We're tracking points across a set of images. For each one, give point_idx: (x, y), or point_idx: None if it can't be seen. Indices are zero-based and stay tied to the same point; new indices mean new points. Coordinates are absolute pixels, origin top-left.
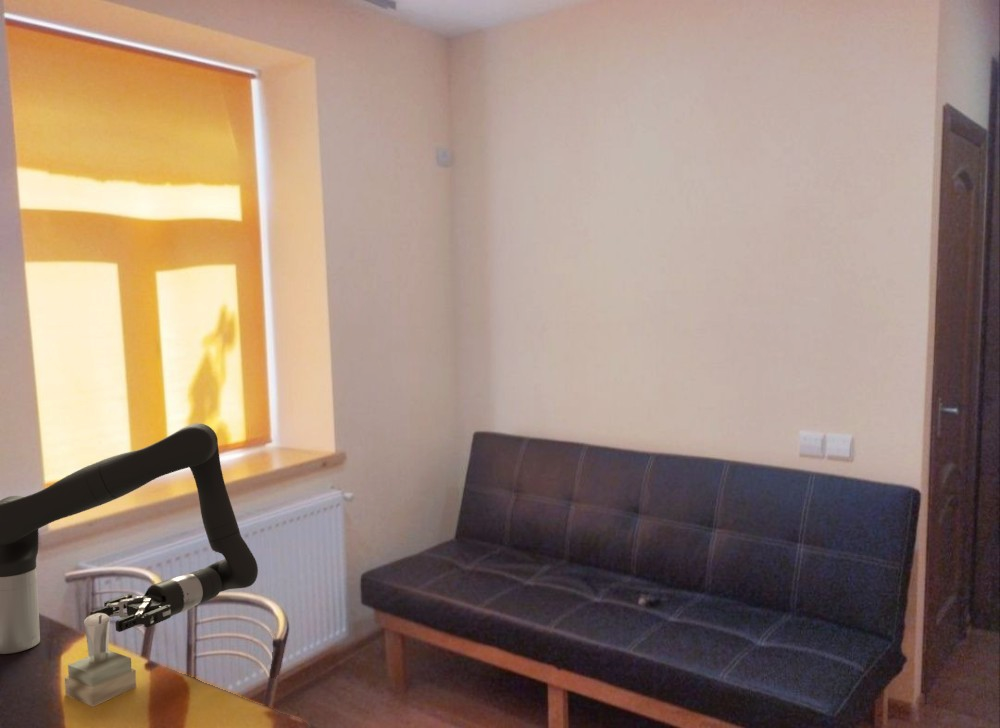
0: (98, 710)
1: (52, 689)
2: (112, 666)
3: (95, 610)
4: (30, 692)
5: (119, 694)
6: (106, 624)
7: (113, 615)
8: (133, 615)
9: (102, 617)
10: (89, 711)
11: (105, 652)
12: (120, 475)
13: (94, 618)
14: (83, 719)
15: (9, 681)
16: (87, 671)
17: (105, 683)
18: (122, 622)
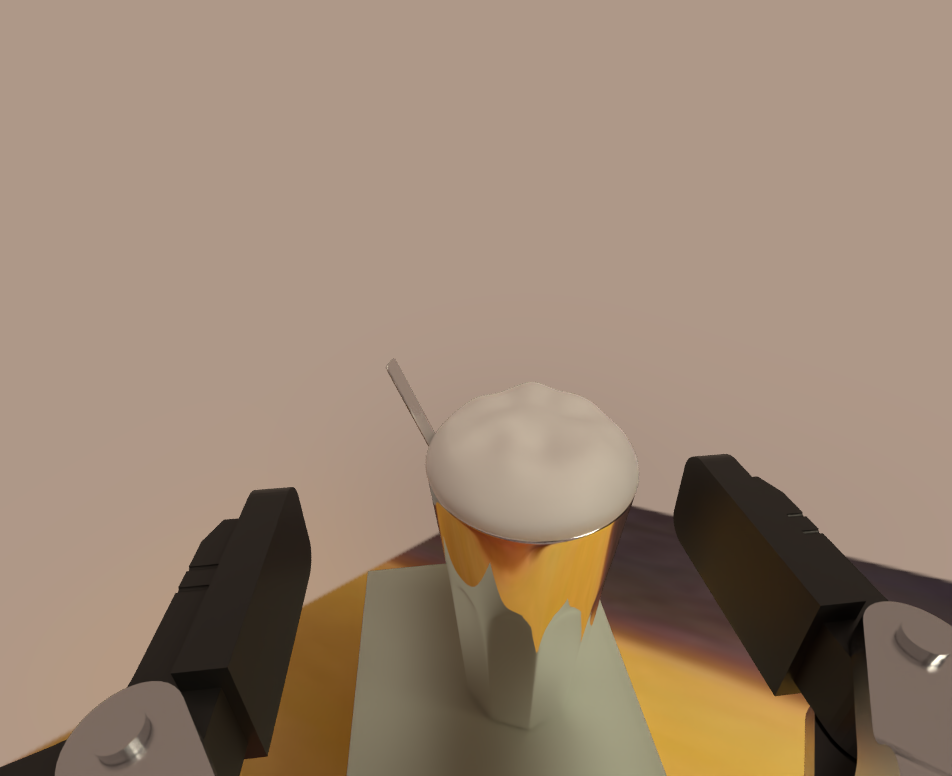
0: (327, 658)
1: (672, 625)
2: (357, 683)
3: (751, 483)
4: (694, 569)
5: None
6: (434, 503)
7: (808, 754)
8: (183, 653)
9: (465, 439)
10: (356, 632)
11: (462, 655)
12: None
13: (491, 402)
14: (324, 594)
15: (850, 559)
16: (424, 571)
17: (357, 671)
18: (230, 527)
